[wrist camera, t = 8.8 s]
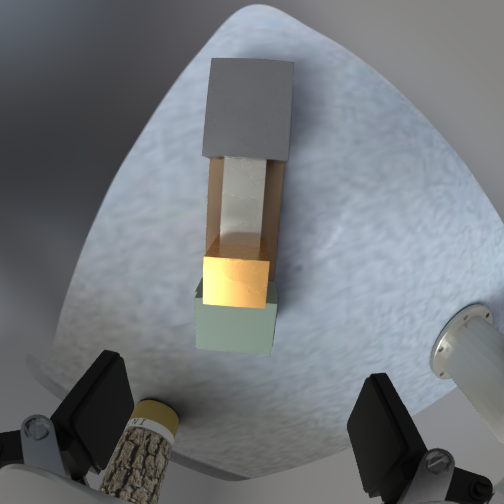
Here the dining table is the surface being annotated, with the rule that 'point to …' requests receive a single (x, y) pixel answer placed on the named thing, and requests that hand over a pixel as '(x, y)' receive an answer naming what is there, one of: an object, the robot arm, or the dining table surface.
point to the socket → (236, 324)
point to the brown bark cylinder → (142, 454)
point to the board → (269, 206)
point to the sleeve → (248, 109)
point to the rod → (239, 240)
